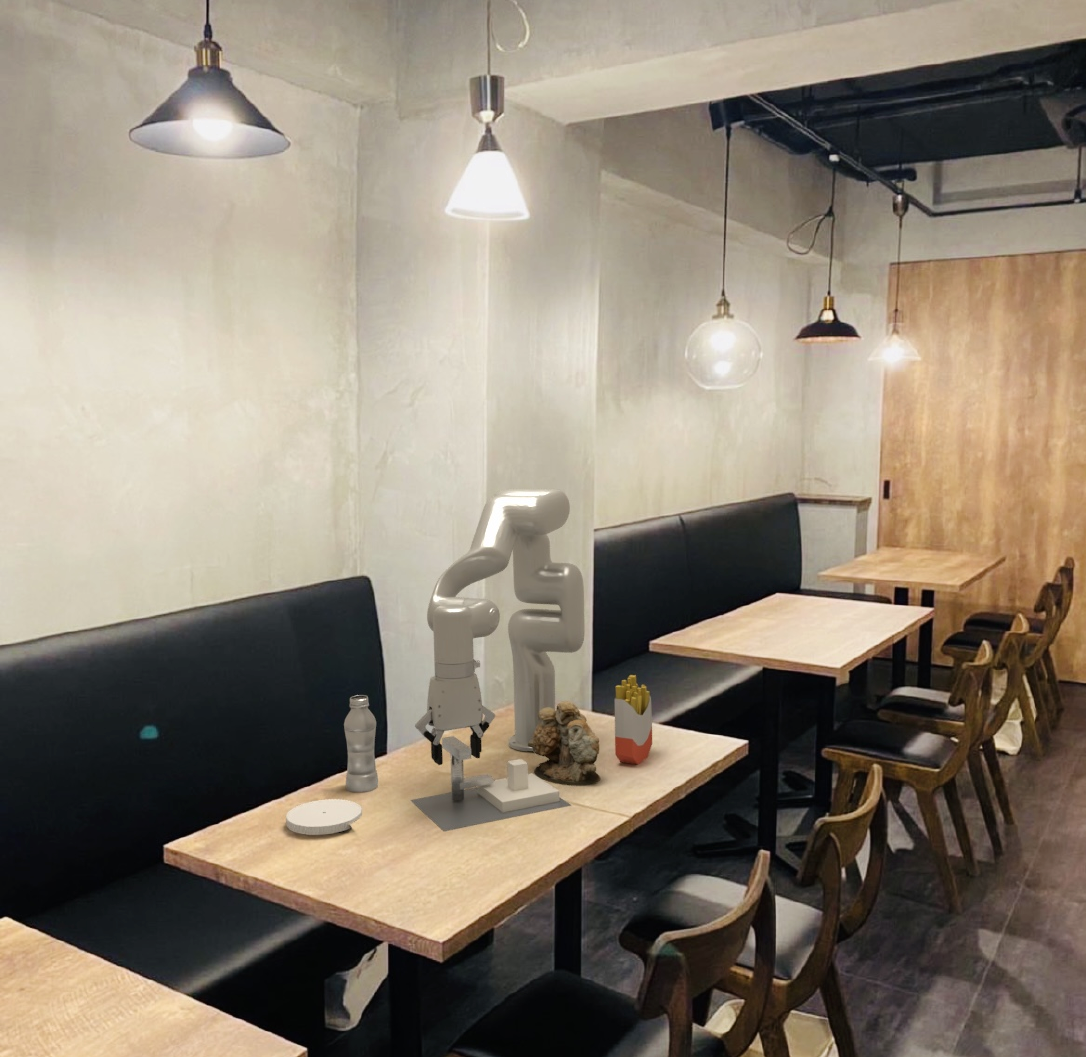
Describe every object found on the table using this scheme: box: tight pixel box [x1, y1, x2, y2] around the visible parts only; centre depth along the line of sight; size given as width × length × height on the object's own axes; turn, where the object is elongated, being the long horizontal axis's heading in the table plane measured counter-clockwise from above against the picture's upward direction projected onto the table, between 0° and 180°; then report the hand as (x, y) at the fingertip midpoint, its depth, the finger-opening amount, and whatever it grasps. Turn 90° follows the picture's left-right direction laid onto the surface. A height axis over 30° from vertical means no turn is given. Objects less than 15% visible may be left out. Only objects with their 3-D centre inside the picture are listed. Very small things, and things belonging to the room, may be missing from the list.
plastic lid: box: [285, 798, 363, 836], centre depth 198 cm, size 14×14×2 cm
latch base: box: [410, 786, 572, 832], centre depth 204 cm, size 26×18×2 cm
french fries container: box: [614, 674, 653, 765], centre depth 231 cm, size 5×11×18 cm, turn 152°
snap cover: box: [477, 758, 561, 812], centre depth 206 cm, size 12×12×7 cm
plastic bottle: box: [343, 694, 379, 794], centre depth 213 cm, size 6×7×20 cm
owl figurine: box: [528, 700, 601, 787], centre depth 218 cm, size 18×12×17 cm, turn 52°
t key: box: [441, 735, 494, 801], centre depth 206 cm, size 8×9×11 cm
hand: (456, 759), depth 204 cm, fingers open, 7 cm apart
